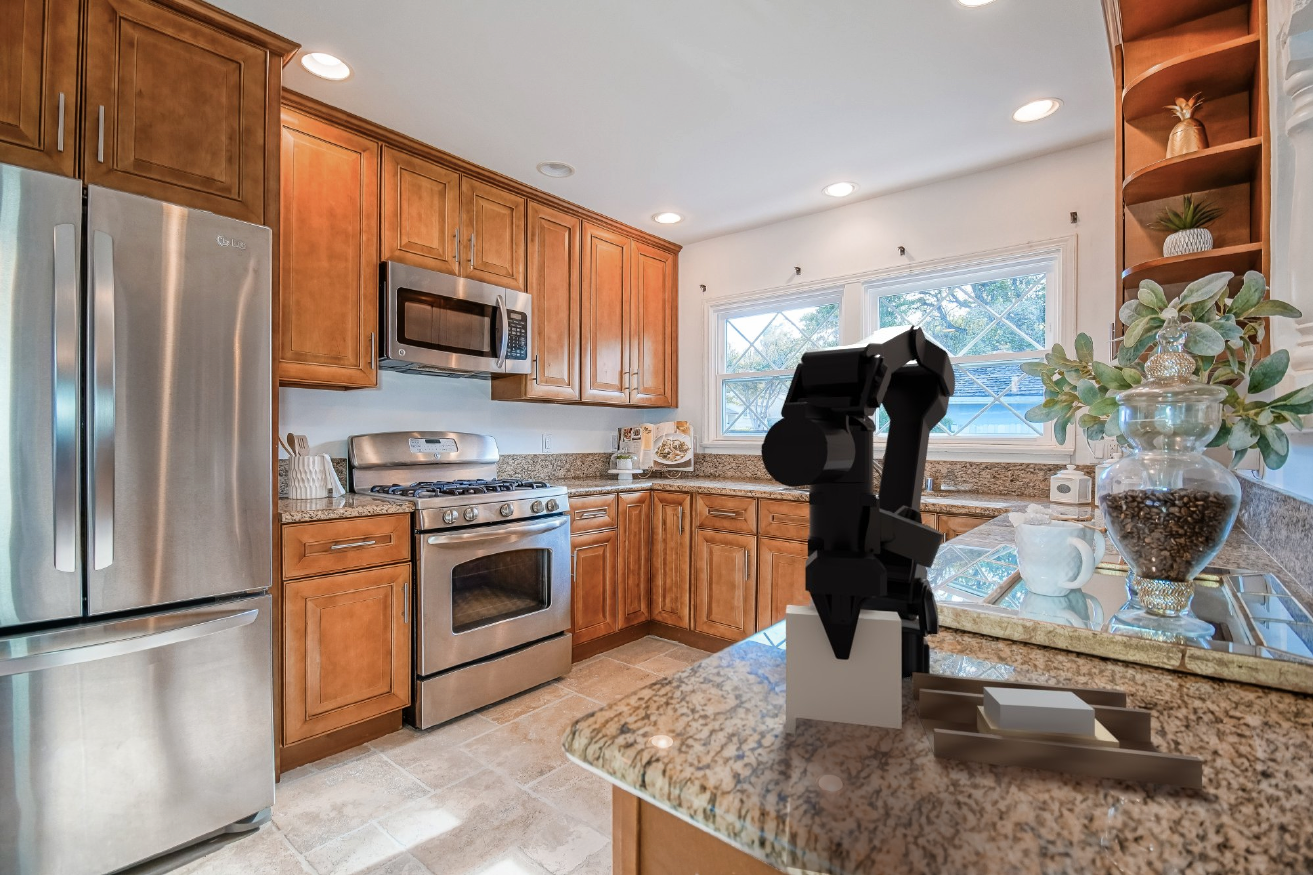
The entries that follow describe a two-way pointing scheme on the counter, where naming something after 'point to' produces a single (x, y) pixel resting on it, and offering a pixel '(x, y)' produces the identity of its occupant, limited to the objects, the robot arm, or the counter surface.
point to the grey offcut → (1039, 711)
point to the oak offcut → (1047, 733)
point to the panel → (843, 671)
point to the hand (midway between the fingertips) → (841, 649)
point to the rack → (956, 737)
